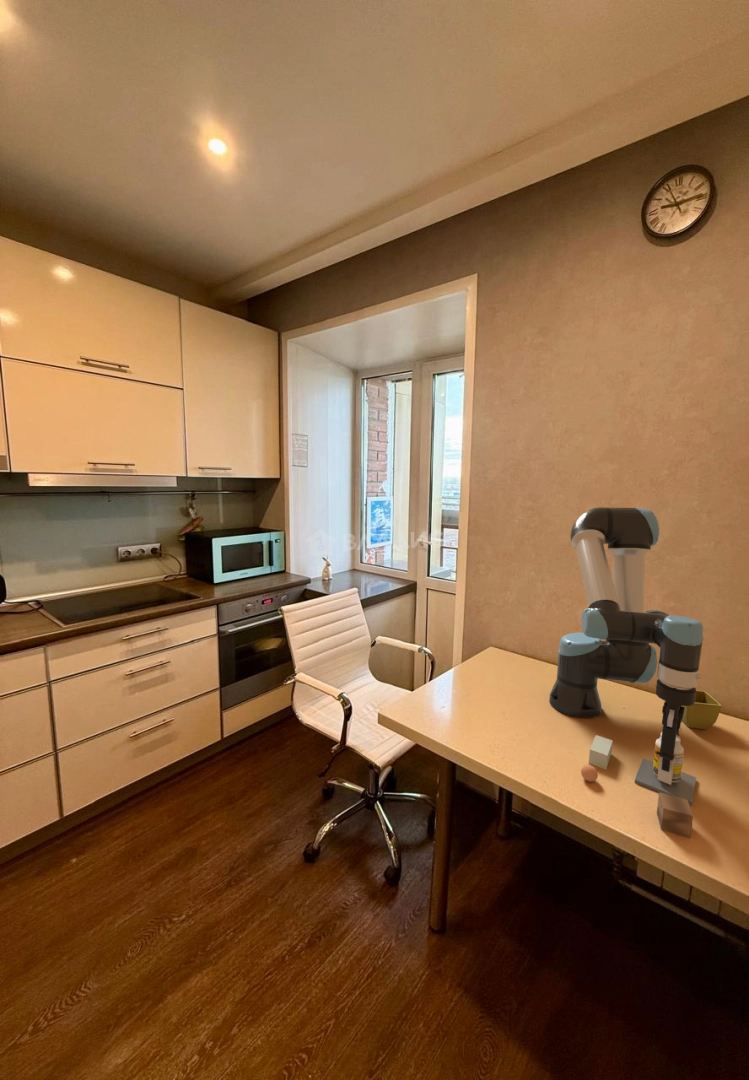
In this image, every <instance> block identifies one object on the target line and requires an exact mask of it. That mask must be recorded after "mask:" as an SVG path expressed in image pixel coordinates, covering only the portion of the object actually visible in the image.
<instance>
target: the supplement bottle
mask: <svg viewBox="0 0 749 1080" xmlns="http://www.w3.org/2000/svg"><path fill="white" fill-rule="evenodd" d="M661 739H662V731H661V732H660V736H659V738H656V740H655V744H654V756H653V762H654V763H653V772H654V773H655V775H656V776H658V768H659V759H660V756H659V755H658V754H656V753H657V751H659V752H660V747H661ZM680 742H681V743H680ZM680 744H681V745H680ZM684 752H685V749H684V747H683V746H682V740H681V737H680V735H679V736H677V735H676V742H675V749H674V765H673V774H672V782H678V781H680V779H681V772H683V771H682V770H683V762H684Z"/></svg>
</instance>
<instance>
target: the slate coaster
mask: <svg viewBox="0 0 749 1080" xmlns="http://www.w3.org/2000/svg"><path fill="white" fill-rule="evenodd" d="M653 763H654V760H650V759H648V758H646V757H642V760H641V762H640V765H639V766H638V767H639V768H638V771H637V773H636V775H635V778H634V783H635V784H638V785H640V786H642V787H645V788H647V789H649V790H652V791H655V792H658V793H659V792H661V793H664V794H668V795H672V796H675V797H679V798H683V799H686V800H688V803H689V806H690V807H691V806H693V801H694V800H693V799H694V794H695V788H696V782H697V777H696V776H694V775H691V774H688V773H685V772H683V771H682V772H681V779H680V781H678V782H672V783H671V785H670V784H668V783H665V782H662V781H660V780H657V777H658V776H656V775H655V773H654V772H653Z"/></svg>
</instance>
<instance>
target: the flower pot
mask: <svg viewBox="0 0 749 1080" xmlns="http://www.w3.org/2000/svg"><path fill="white" fill-rule="evenodd" d="M682 707H685V709H684V714H683V718H682V722H683V723H684V724H685V725H686V726H687V727H688V728H693V729H694V728H695V729H700V730H701V729H702V730H708V729H710V728H712V727H713V726H714V724H716V722H717V720H718V719H719V718H718V717H719V715H720V713H721V709H722V705H721V703H720V702H718V700H716V699H715V698H714V697H713V696H711V695H710V694H709V692H707V691H704V690H697V689H696V697H695V703H694V704H693V705H691V706H682Z"/></svg>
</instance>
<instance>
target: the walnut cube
mask: <svg viewBox="0 0 749 1080" xmlns="http://www.w3.org/2000/svg"><path fill="white" fill-rule="evenodd" d="M657 798H658V799H657V808H656V817H657V820H658V824H659V827H660V830H661V831H665V832H667V833H672V834H675V835H678V836H681V837H685V838H688V839H691V836H692V829H693V821H694V815H693V811H692V809H691V805H689V803H688V800H686V799H683V798H679V797H675V796H672V795H668V794H664V793H661V792H658V797H657Z"/></svg>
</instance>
